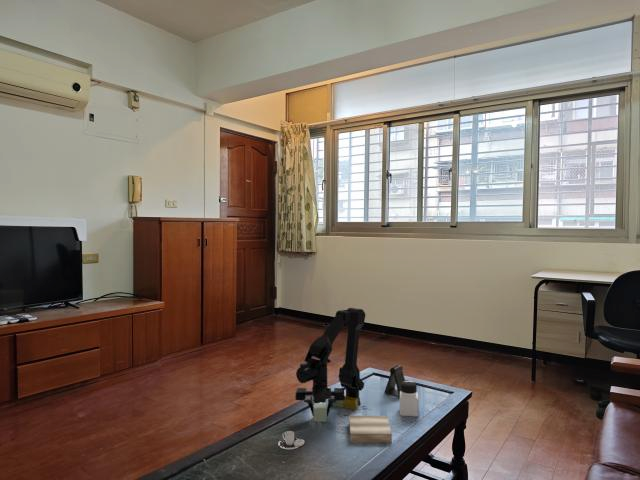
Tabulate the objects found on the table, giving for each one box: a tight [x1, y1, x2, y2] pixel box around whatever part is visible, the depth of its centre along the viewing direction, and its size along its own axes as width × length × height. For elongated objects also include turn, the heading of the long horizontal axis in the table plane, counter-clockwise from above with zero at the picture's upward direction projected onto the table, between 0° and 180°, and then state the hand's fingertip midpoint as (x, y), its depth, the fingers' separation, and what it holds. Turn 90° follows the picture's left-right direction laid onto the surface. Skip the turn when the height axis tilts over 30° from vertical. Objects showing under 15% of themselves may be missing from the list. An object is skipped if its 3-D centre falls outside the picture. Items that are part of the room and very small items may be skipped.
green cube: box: [313, 402, 328, 423], centre depth 163 cm, size 5×5×5 cm
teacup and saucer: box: [278, 430, 305, 450], centre depth 144 cm, size 9×8×4 cm
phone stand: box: [384, 364, 406, 398], centre depth 188 cm, size 9×6×12 cm, turn 50°
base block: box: [348, 415, 393, 443], centre depth 151 cm, size 14×14×3 cm
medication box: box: [332, 395, 359, 411], centre depth 174 cm, size 12×3×4 cm, turn 61°
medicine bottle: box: [399, 380, 419, 418], centre depth 168 cm, size 7×7×12 cm
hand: (320, 416), depth 163 cm, fingers closed on green cube, 5 cm apart
